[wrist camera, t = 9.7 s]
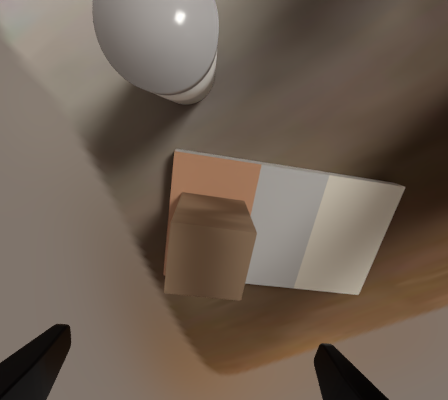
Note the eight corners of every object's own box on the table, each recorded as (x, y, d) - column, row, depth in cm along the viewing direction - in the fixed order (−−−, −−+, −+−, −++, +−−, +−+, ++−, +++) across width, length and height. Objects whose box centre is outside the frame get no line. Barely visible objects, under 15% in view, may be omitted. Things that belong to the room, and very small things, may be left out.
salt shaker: (219, 41, 15) (228, -39, 7) (210, 109, 16) (209, 102, 8) (154, 28, 14) (90, -73, 7) (151, 98, 15) (94, 81, 8)
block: (244, 200, 17) (257, 233, 12) (233, 253, 18) (240, 300, 14) (182, 191, 16) (170, 222, 12) (176, 247, 18) (163, 293, 13)
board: (393, 182, 18) (405, 186, 17) (350, 285, 22) (358, 294, 20) (177, 148, 17) (174, 151, 15) (166, 265, 20) (163, 275, 19)
